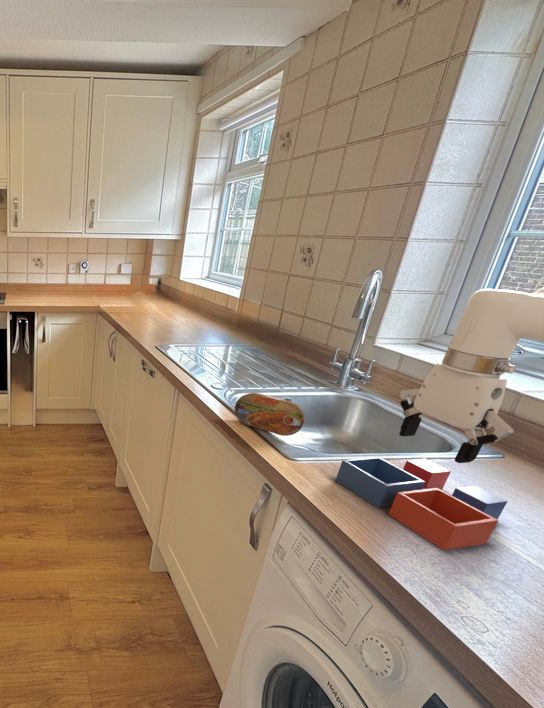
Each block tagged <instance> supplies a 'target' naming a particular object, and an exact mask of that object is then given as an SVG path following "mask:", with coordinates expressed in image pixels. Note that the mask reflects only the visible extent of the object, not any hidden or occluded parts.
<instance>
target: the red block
mask: <svg viewBox="0 0 544 708" xmlns="http://www.w3.org/2000/svg"><path fill="white" fill-rule="evenodd" d="M402 469H403V470H404V471H406V472H408V473H410V474H412V475H414V476H416V477H418V478H420V479H421V480H423V481H425V484H424V486H423V489H431V488H438V489H440V490H442V491H443V489H444V488H445V485H446V483H447V480H448V479H449V477H450V475H451V473H452V471H451V470H450V469H447V468H446V467H443V466H441V465H439V464H437V463H435V462H433V461H431V460H428V459H426V458H418V459H407V460H406V461H405V463H404V466H403V468H402Z"/></svg>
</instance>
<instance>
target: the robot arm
mask: <svg viewBox="0 0 544 708" xmlns="http://www.w3.org/2000/svg"><path fill="white" fill-rule="evenodd" d="M520 339H527V340H531V341H534V342H535V341H536V342H540V343H544V286H543V287H541V288H539V289H538V290H536V291H534V292H532V293H529V292H523V291H518V290H508V289H507V290H506V289H499V288H498V289H497V288H482V289H479V290H476V291H475V292H473V294H472V295H471V296H470V298H469V300H468V302H467V304H466V307H465V309H464V311H463V313H462V316H461V318H460V320H459V323H458V324H457V327H456V329H455V331H454V333H453V336H452V338H451V341H450V342H449V345H448V347H447V350H446V352H445V354H444V355H443V358H442V361H439V362H436V364H435V365H434V366H433V368H432V369H431V370H430V371H429V373H428V375H427V376H426V378H425V379H424V381H423V382H422V384H421V386H420V388H411V389H409V388H408V389H400V391H399V396H400V402H399V403H400V406H401V408H402V411H403V412H402V416H403V417H404V419H403V421H402V423H401V426H400V431H399V433H398V435H399V436H400V437H413V436H415V435H416V433H417V431H418V429H419V427H420V424H421V422H422V415H425V416H427V417H430V418H433V419H435V420H437V421H440V422H442V423H445V424H447V425H450V426H452V427H454V428H457V429H460V430H463V432H464V434H465V437H466V439H467V441H464V442H462V443H461V446H460V447H459V450H458V452H457V453H456V455H455V457H454V462H455V463H458V464H465V463H472V462H473V461H475V460H476V459H477V457H478V455H479V453H480V452H481V449H482V448H483V446H484V445H488V444H491V443H497V442H500V441H502V439H506V438H507V437H508V436H510V435H512V434H513V433H514V432H515V429H514V428H512V426H510V425H509V424H508V423H507V422H506V421H505V420H504V419H502V418H501V417H500V416H499V414H498V413H499V411H500V408H501V406H502V402H503V400H504V397H505V392H506V388H507V382H508V378H507V376H503V375H504V373H507V374H513V373H514V372H515V371H516V370H517V367H516V365H512V364H511V363H510V362H511V357H512V355H513V354H514V351H515V349H516V347H517V345H518V343H519V341H520ZM414 396H415V398H414V401H413V397H414ZM490 428H494V430H493V431H492V432H491V433H489V434H487V432H486V430H489V429H490Z"/></svg>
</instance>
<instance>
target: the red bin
mask: <svg viewBox="0 0 544 708" xmlns="http://www.w3.org/2000/svg"><path fill="white" fill-rule="evenodd" d="M388 516H390V517H392V518H394V519H395V520H397V521H398V522H399V523H401V524H403V525H404V526H406V527H407V528H409V529H410V530H412V531H413V532H414V533H417V534H418V535H420V536H421V537H422V538H424V539H426V540H427V541H429V542H430V543H432V544H433V545H435V546H437V547H438V548H440V550H443V551H448V550H455V549H462V548H466V547H473V546H480V545H486V544H487V543H488V541H489V540H490V537H491V535H492V534H493V532H494V531H495V528H496V526H497V524H498V522H499V519H498V520H497V519H495V518H493V517H491V516H489V515H487V514H485V513H484V512H482V511H480V510H478V509H476V508H474V507H472V506H470V505H468V504H467V503H465V502H463V501H461V500H459V499H457V498H455V497H453V496H452V494H449V493H448V492H446V491H444V490H443V489H442V490H440V489H438V488H431V489H422V490H414V491H405V492H398V493H397V495H396V497H395V500H394V502H393V504H392V506H390V509H389V512H388Z"/></svg>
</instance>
